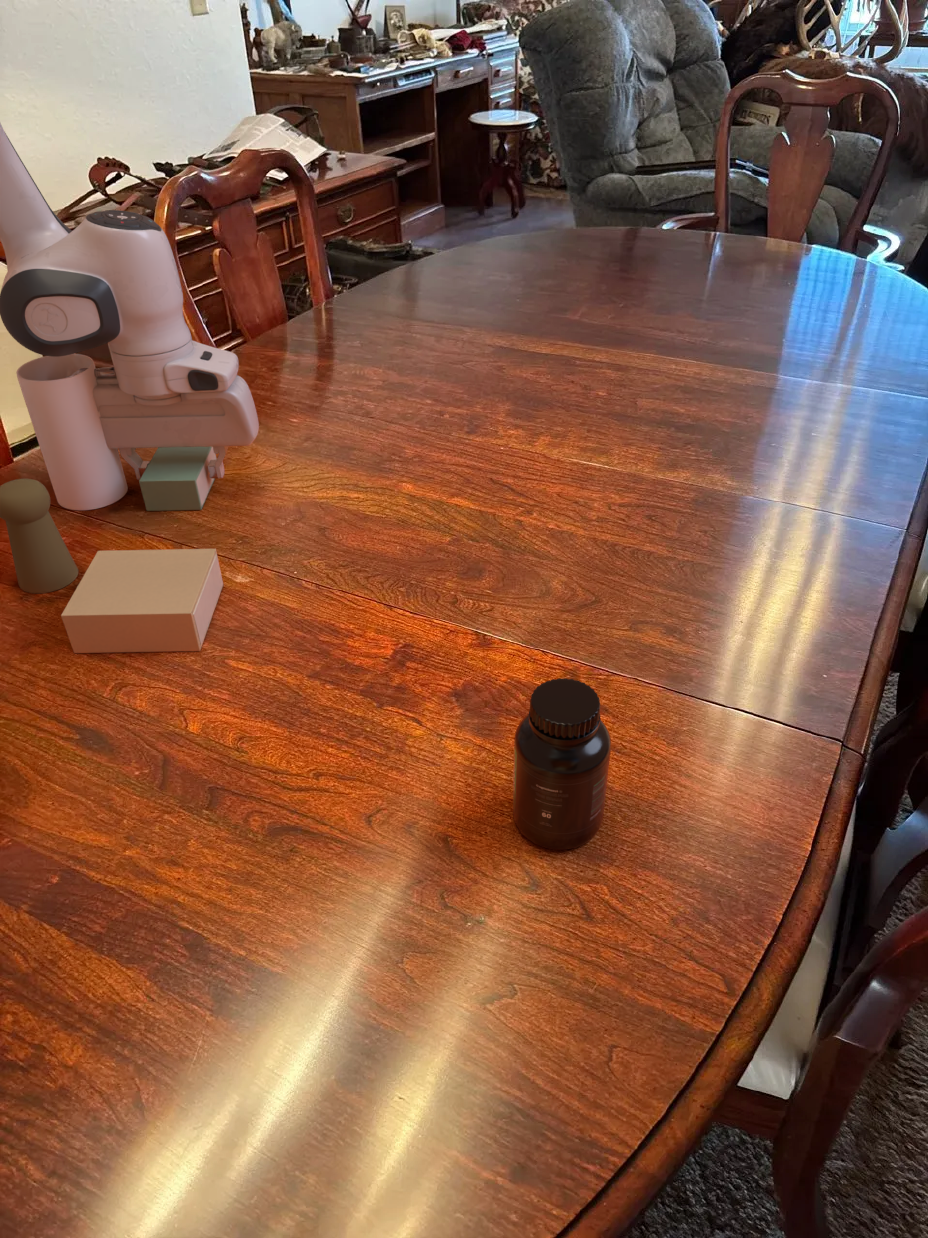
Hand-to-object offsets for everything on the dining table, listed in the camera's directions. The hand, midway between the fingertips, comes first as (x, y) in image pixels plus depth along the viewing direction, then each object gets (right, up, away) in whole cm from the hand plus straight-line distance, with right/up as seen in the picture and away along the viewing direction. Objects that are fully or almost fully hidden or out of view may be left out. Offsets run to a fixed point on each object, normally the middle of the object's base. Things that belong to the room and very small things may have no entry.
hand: (181, 476), depth 111 cm
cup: (-11, -2, +1) cm, 11 cm away
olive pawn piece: (-10, -13, -14) cm, 21 cm away
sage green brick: (0, -1, +1) cm, 2 cm away
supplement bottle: (+41, -32, -41) cm, 67 cm away
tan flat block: (+3, -17, -20) cm, 26 cm away
